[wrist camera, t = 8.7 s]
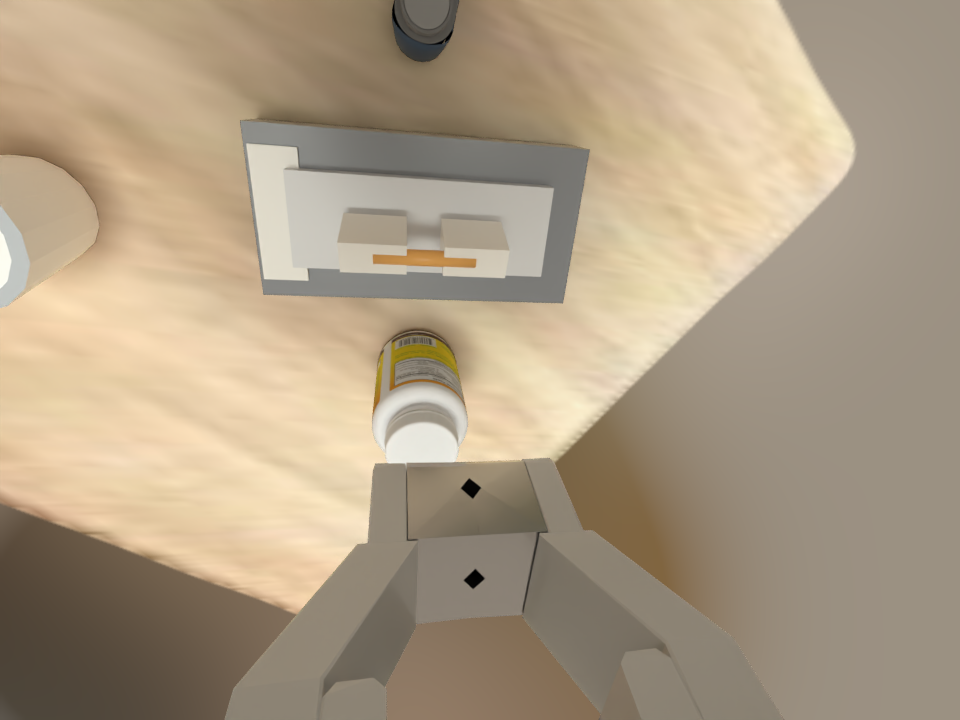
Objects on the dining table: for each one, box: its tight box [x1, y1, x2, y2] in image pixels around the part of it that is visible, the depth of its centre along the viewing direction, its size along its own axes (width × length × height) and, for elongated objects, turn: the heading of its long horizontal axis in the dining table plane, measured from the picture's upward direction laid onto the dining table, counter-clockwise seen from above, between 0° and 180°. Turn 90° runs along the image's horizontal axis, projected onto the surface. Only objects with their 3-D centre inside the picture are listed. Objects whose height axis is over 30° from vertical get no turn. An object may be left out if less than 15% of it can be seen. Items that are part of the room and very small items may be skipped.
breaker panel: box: [240, 119, 590, 303], centre depth 28 cm, size 9×18×4 cm, turn 85°
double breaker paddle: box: [337, 213, 510, 278], centre depth 24 cm, size 2×8×3 cm, turn 85°
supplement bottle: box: [372, 331, 468, 464], centre depth 30 cm, size 6×6×10 cm
